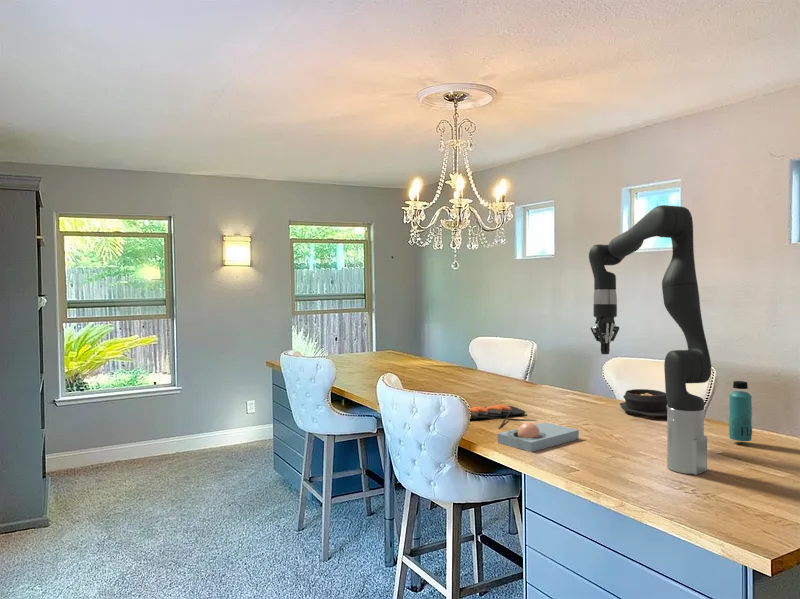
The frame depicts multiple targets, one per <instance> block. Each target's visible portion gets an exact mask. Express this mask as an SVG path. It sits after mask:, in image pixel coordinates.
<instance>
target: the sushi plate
mask: <svg viewBox="0 0 800 599" xmlns="http://www.w3.org/2000/svg"><path fill="white" fill-rule="evenodd" d="M469 408H470V412H471V419H470V420H477V419H479V418H481V419H497V420H503V422H502V423H501V424H500V425H499V427H498V429H499V430H501V428H502V427H503V426H504V424H505V422H506V421H507V420H508V421H519V422H521V421H523V422H524V421H525V422H526V421H527V422H529V421H533V422H535V421H537V420H536V419H527V418H526V419H524V418H523V419H522V418H508V417H510V416H511V417H512V416H517V415H524V414H526V411H525V410H523V409H521V408H518V407H515V406H512V405H505V404H496V405H490V406H486V407H483V406H473V407H469ZM501 416H502V417H501ZM498 429H497V430H498Z"/></svg>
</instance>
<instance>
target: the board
mask: <svg viewBox="0 0 800 599" xmlns="http://www.w3.org/2000/svg"><path fill="white" fill-rule="evenodd" d="M535 425H536V426H537V427H538V429H539V432H540V436H539V437H536V438H520V437H518V429H519V428H515V429H511V430H507V431H504V432H503V431H502V432H498V433H497V443H498V444H502V445H505V446H509V447H511V448H514V449H520V450H522V451H527V452H530V453H533V452H537V451H540V450H544V449H547V448H551V447H554V446H558V445H561V444H564V443H565V444H566V443H569V442H572V441H573V442H574V441H576V439H577V440H579V438H580V437H579V435H580V433H579V431H580V430H579V429H575V428H572V427H568V426H562V425H557V424H554V423H550V422H546V421H545V422H541V423H537V424H535Z"/></svg>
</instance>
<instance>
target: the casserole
mask: <svg viewBox="0 0 800 599" xmlns="http://www.w3.org/2000/svg"><path fill="white" fill-rule="evenodd" d="M622 397H623V398H624V400H625V402H620V403H619V405H620V408H621V409H622V410H624V411H627V412H629V413H631V414H634V415H637V416H641V415H642V417H667V398H666V391H661V390H656V389H646V388H644V389H643V388H640V389H636V388H634V389H628V390H625V393H624V395H623V396H622Z"/></svg>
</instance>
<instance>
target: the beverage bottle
mask: <svg viewBox="0 0 800 599" xmlns="http://www.w3.org/2000/svg"><path fill="white" fill-rule="evenodd" d="M732 388H733V389H738V390H733V391H732V392H731V393H729V419H728V422H729V424H728V426H729V427H728V435H729V438H730V439H731V440H733V441H737V442H751V441H752V438H753V437H752V436H753V426H752V424H753V421H752V420H753V419H752V416H753V411H752V410H753V407H752V399H753V398H752V395H751V394H750V393H749V392H748V391H743V390H747V389H749V387H748V382H747V381H742V380H735V381H733V385H732Z"/></svg>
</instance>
